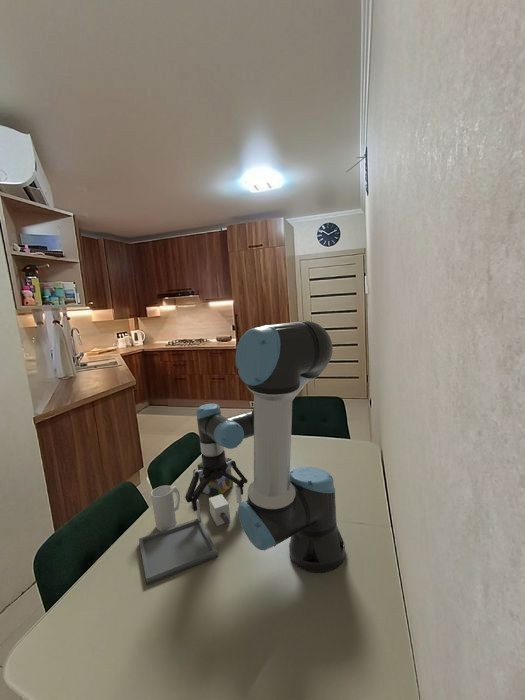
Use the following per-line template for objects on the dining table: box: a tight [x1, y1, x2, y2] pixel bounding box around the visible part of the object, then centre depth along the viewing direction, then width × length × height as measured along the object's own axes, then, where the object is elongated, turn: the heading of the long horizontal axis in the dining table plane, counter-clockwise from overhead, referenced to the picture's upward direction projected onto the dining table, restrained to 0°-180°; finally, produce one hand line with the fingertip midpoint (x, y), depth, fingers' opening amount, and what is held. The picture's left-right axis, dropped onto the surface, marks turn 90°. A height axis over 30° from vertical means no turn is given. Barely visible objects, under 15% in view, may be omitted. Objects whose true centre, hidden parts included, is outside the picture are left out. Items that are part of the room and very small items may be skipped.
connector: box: [208, 494, 231, 526], centre depth 114 cm, size 15×5×6 cm, turn 25°
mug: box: [150, 485, 181, 532], centre depth 114 cm, size 10×7×12 cm, turn 144°
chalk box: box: [197, 456, 234, 497], centre depth 132 cm, size 9×9×15 cm
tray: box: [138, 517, 218, 586], centre depth 101 cm, size 18×19×2 cm
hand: (219, 511), depth 115 cm, fingers open, 13 cm apart
